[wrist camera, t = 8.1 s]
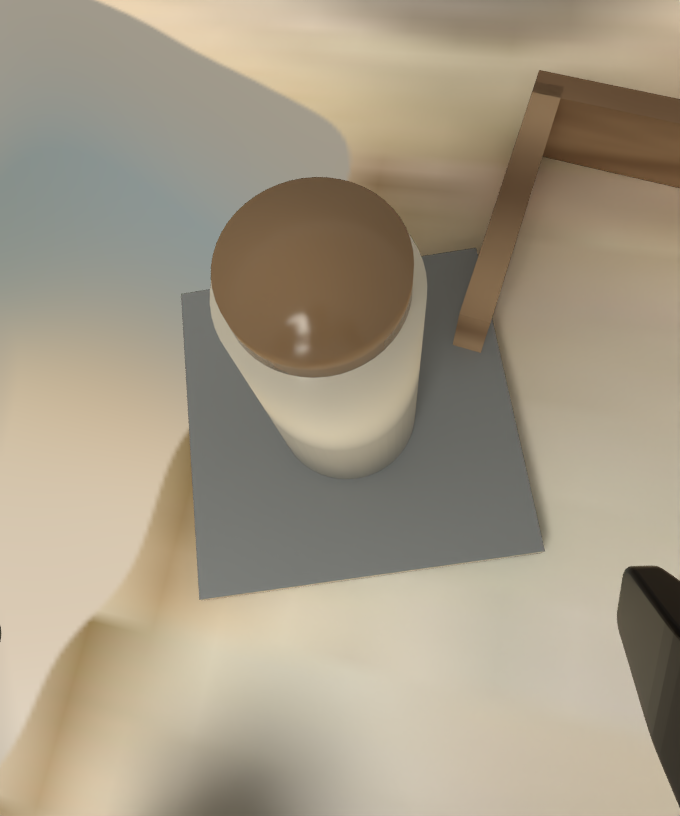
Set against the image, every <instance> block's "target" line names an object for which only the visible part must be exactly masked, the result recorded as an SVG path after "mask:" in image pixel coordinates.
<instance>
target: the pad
mask: <svg viewBox="0 0 680 816" xmlns="http://www.w3.org/2000/svg"><path fill="white" fill-rule="evenodd" d="M421 257H422V259H423V262H424V266H425V271H426V277H427V301H426V311H425V321H424V331H423V341H422V351H421V361H420V372H419V382H418V392H417V402H416V412H415V422H414V427H413V431H412V434H411V437H410V439H409V441H408V443H407V445H406V447H405V448H404V449H403V451H402V452H401V454H400V455H399V456H398V457H397V458H396V459H395V460H394V461H393V462H392V463H391V464H389V465H388V466H387V467H385V468H383V469H382V470H380V471H378V472H376V473H374V474H372V475H368V476H365V477H361V478H356V479H337V478H332V477H327V476H325V475H322V474H319V473H317V472H315V471H313V470H311V469H310V468H308V467H307V466H305V465H304V464H303V463H302V462H301V461H300V460H299V459H298V458H297V457H296V456H295V455H294V454H293V452H292V451H291V449H290V448H289V446H288V445H287V443H286V442H285V440H284V439H283V437H282V435H281V434H280V432H279V431H278V429H277V428H276V426H275V425H274V423H273V421H272V420H271V418H270V417H269V415H268V414H267V412H266V411H265V409H264V408H263V406H262V404H261V403H260V401H259V400H258V398H257V397H256V395H255V394H254V392H253V391H252V389H251V387H250V386H249V384H248V383H247V381H246V380H245V378H244V377H243V375H242V373H241V372H240V370H239V369H238V367H237V366H236V364H235V363H234V361H233V360H232V358H231V356H230V355H229V353H228V352H227V350H226V349H225V347H224V346H223V344H222V342H221V341H220V339H219V337H218V334H217V332H216V330H215V327H214V324H213V320H212V317H211V310H210V289H209V290H203V291H196V292H191V293H184V294H181V300H182V317H183V334H184V350H185V366H186V382H187V399H188V417H189V434H190V451H191V467H192V484H193V501H194V517H195V534H196V551H197V567H198V584H199V600H211V599H218V598H225V597H232V596H239V595H247V594H254V593H261V592H268V591H275V590H282V589H289V588H296V587H304V586H311V585H318V584H325V583H332V582H339V581H346V580H353V579H360V578H368V577H375V576H382V575H389V574H396V573H403V572H410V571H417V570H424V569H432V568H439V567H446V566H453V565H460V564H467V563H474V562H481V561H488V560H496V559H503V558H510V557H517V556H524V555H531V554H538V553H542V552H544V551H545V550H544V545H543V541H542V536H541V532H540V528H539V523H538V519H537V514H536V510H535V505H534V501H533V497H532V492H531V488H530V483H529V479H528V475H527V470H526V466H525V461H524V457H523V453H522V448H521V444H520V439H519V435H518V431H517V426H516V422H515V417H514V413H513V409H512V404H511V400H510V395H509V391H508V387H507V382H506V378H505V373H504V369H503V365H502V360H501V356H500V351H499V347H498V342H497V338H496V334H495V329H494V325H493V320H491V323H490V326H489V329H488V332H487V335H486V338H485V341H484V344H483V347H482V350H481V353H479V352H476V351H472V350H469V349H465V348H462V347H458V346H455V345H453V341H454V336H455V332H456V327H457V322H458V318H459V313H460V310H461V307H462V304H463V301H464V298H465V295H466V292H467V289H468V286H469V283H470V280H471V277H472V274H473V271H474V268H475V265H476V262H477V259H478V254H477V250H476V248H471V249H465V250H459V251H452V252H446V253H439V254H433V255H427V256H421Z"/></svg>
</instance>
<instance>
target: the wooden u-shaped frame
mask: <svg viewBox="0 0 680 816" xmlns="http://www.w3.org/2000/svg"><path fill="white" fill-rule="evenodd" d="M542 156H543V157H548V158H552V159H556V160H561V161H565V162H569V163H574V164H578V165H583V166H587V167H591V168H596V169H600V170H604V171H609V172H613V173H617V174H622V175H626V176H630V177H635V178H639V179H643V180H648V181H652V182H656V183H661V184H665V185H669V186H674V187H678V188H680V99H676V98H671V97H666V96H661V95H657V94H652V93H647V92H642V91H637V90H632V89H628V88H623V87H618V86H613V85H608V84H604V83H599V82H594V81H589V80H584V79H579V78H575V77H570V76H565V75H560V74H555V73H550V72H546V71H541V70H539V73H538V76H537V79H536V82H535V85H534V88H533V91H532V94H531V97H530V100H529V103H528V106H527V109H526V112H525V115H524V119H523V122H522V125H521V128H520V131H519V134H518V137H517V140H516V143H515V146H514V149H513V152H512V155H511V158H510V161H509V164H508V167H507V170H506V173H505V176H504V179H503V182H502V186H501V189H500V192H499V195H498V198H497V201H496V204H495V207H494V210H493V213H492V216H491V219H490V222H489V225H488V228H487V231H486V234H485V237H484V240H483V243H482V246H481V250H480V253H479V256H478V259H477V262H476V265H475V268H474V271H473V274H472V277H471V280H470V283H469V286H468V289H467V292H466V295H465V298H464V301H463V304H462V307H461V310H460V313H459V318H458V322H457V327H456V332H455V336H454V341H453V345H455V346H458V347H462V348H465V349H469V350H472V351H476V352H479V353H481V350H482V347H483V344H484V341H485V338H486V335H487V332H488V329H489V326H490V323H491V320H492V316H493V313H494V310H495V307H496V304H497V300H498V297H499V294H500V291H501V288H502V284H503V281H504V278H505V275H506V272H507V268H508V265H509V262H510V259H511V255H512V252H513V249H514V246H515V243H516V239H517V236H518V233H519V230H520V227H521V223H522V220H523V217H524V214H525V211H526V207H527V204H528V201H529V198H530V195H531V191H532V188H533V185H534V182H535V179H536V175H537V172H538V169H539V166H540V163H541V159H542Z"/></svg>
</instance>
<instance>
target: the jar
mask: <svg viewBox="0 0 680 816" xmlns="http://www.w3.org/2000/svg"><path fill="white" fill-rule="evenodd" d="M426 301H427V277H426V271H425V266H424V262H423V259H422V257H421V254H420V252H419V249H418V248H417V246H416V244H415V242H414V241H413V239H412V237H411V236H410V235H409V234H408V232H407V229H406V227H405V225H404V223H403V222H402V220H401V218H400V217H399V216H398V214H397V213H396V212H395V211H394V209H393V208H392V207H391V206H390V205H389V204H388V203H387V202H386V201H385V200H383V199H382V198H381V197H379V196H378V195H377V194H375V193H374V192H372V191H370V190H368V189H366V188H365V187H362V186H360V185H357V184H355V183H352V182H349V181H345V180H341V179H334V178H327V177H326V178H325V177H324V178H323V177H312V178H301V179H296V180H291V181H288V182H285V183H281V184H278V185H276V186H274V187H272V188H269V189H267V190H265V191H263V192H262V193H260V194H258V195H256V196H255V197H254V198H252V199H251V200H249V201H248V202H247V203H245V204H244V205H243V206H242V207H241V208H240V209H239V210H238V211H237V212H236V213H235V214H234V215H233V217H232V218H231V219H230V220H229V221H228V223H227V224H226V226H225V228H224V229H223V231H222V233H221V235H220V237H219V239H218V241H217V243H216V247H215V250H214V253H213V258H212V264H211V287H210V310H211V317H212V320H213V324H214V327H215V330H216V332H217V334H218V337H219V339H220V341H221V342H222V344H223V346H224V347H225V349H226V350H227V352H228V353H229V355H230V356H231V358H232V360H233V361H234V363H235V364H236V366H237V367H238V369H239V370H240V372H241V373H242V375H243V377H244V378H245V380H246V381H247V383H248V384H249V386H250V387H251V389H252V391H253V392H254V394H255V395H256V397H257V398H258V400H259V401H260V403H261V404H262V406H263V408H264V409H265V411H266V412H267V414H268V415H269V417H270V418H271V420H272V421H273V423H274V425H275V426H276V428H277V429H278V431H279V432H280V434H281V435H282V437H283V439H284V440H285V442H286V443H287V445H288V446H289V448H290V449H291V451H292V452H293V454H294V455H295V456H296V457H297V458H298V459H299V460H300V461H301V462H302V463H303V464H304V465H305V466H307V467H308V468H310V469H311V470H313V471H315V472H317V473H319V474H322V475H325V476H327V477H332V478H337V479H356V478H361V477H365V476H368V475H372V474H374V473H376V472H378V471H380V470H382V469H383V468H385V467H387V466H388V465H389V464H391V463H392V462H393V461H394V460H395V459H396V458H397V457H398V456H399V455H400V454H401V452H402V451H403V449H404V448H405V447H406V445H407V443H408V441H409V439H410V437H411V434H412V431H413V427H414V422H415V412H416V402H417V392H418V382H419V372H420V361H421V351H422V341H423V331H424V321H425V311H426Z"/></svg>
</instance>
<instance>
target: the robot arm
mask: <svg viewBox="0 0 680 816" xmlns="http://www.w3.org/2000/svg"><path fill="white" fill-rule="evenodd" d="M617 623H618V629H619V633H620V636H621V639H622V643H623V646H624V649H625V653H626V656H627V660H628V663H629V666H630V670H631V673H632V676H633V680H634V683H635V687H636V690H637V693H638V697H639V700H640V703H641V707H642V710H643V714H644V717H645V720H646V723H647V727H648V730H649V733H650V736H651V739H652V742H653V744H654V747H655V749H656V752H657V754H658V757H659V759H660V762H661V764H662V767H663V769H664V771H665V774H666V776H667V779H668V781H669V783H670V786H671V788H672V791H673V793H674V795H675V798H676V800H677V802H678V805H679V807H680V581H679V580H678V579H677V578H675V577H674V576H672V575H671V574H669V573H668V572H666V571H665V570H664V569H662V568H660V567H658V566H631V567H628V568H627V569H626V570H625V571H624V574H623V578H622V584H621V591H620V597H619V604H618V610H617ZM0 639H1V627H0Z"/></svg>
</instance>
